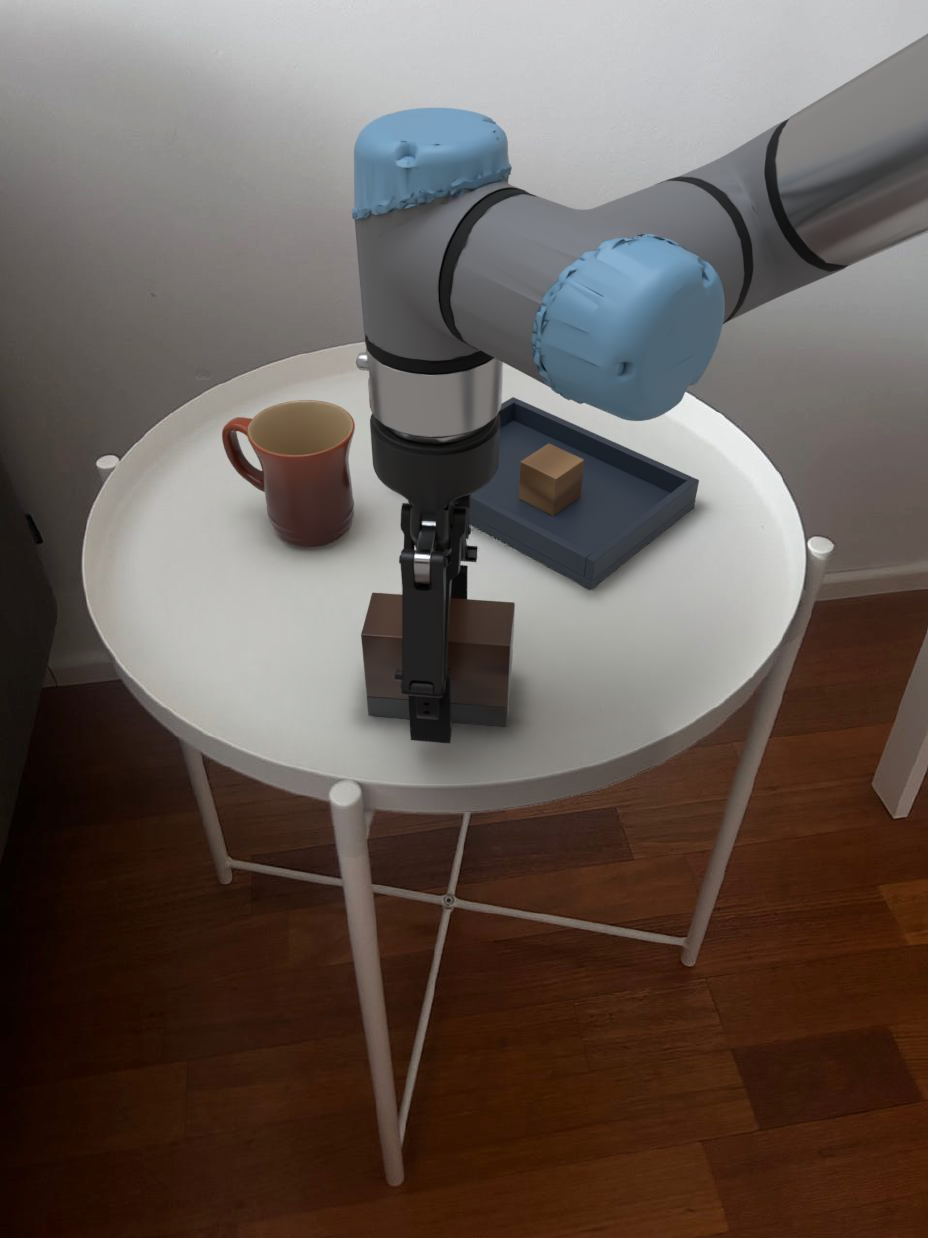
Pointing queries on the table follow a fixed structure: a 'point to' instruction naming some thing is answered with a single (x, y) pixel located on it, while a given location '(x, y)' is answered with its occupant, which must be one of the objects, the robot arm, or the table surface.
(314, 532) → the mug
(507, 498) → the tray
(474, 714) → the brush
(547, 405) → the table surface
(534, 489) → the wooden cube
